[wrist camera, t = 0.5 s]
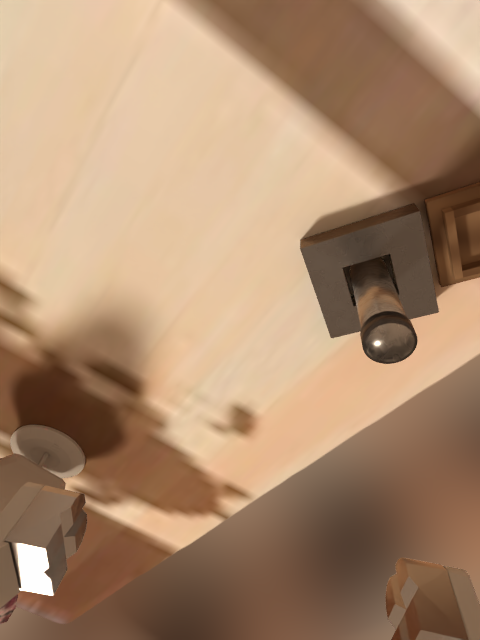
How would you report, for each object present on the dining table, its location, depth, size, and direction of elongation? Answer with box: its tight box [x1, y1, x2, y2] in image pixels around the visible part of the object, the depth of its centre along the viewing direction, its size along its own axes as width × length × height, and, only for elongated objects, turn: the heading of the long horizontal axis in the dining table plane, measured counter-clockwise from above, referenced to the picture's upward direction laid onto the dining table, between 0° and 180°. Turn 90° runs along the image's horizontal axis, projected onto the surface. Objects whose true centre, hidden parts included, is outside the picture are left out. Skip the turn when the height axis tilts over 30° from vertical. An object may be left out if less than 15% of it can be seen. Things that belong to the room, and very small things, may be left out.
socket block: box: [300, 203, 439, 338], centre depth 46 cm, size 12×12×2 cm
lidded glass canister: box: [350, 257, 417, 364], centre depth 41 cm, size 4×4×14 cm
